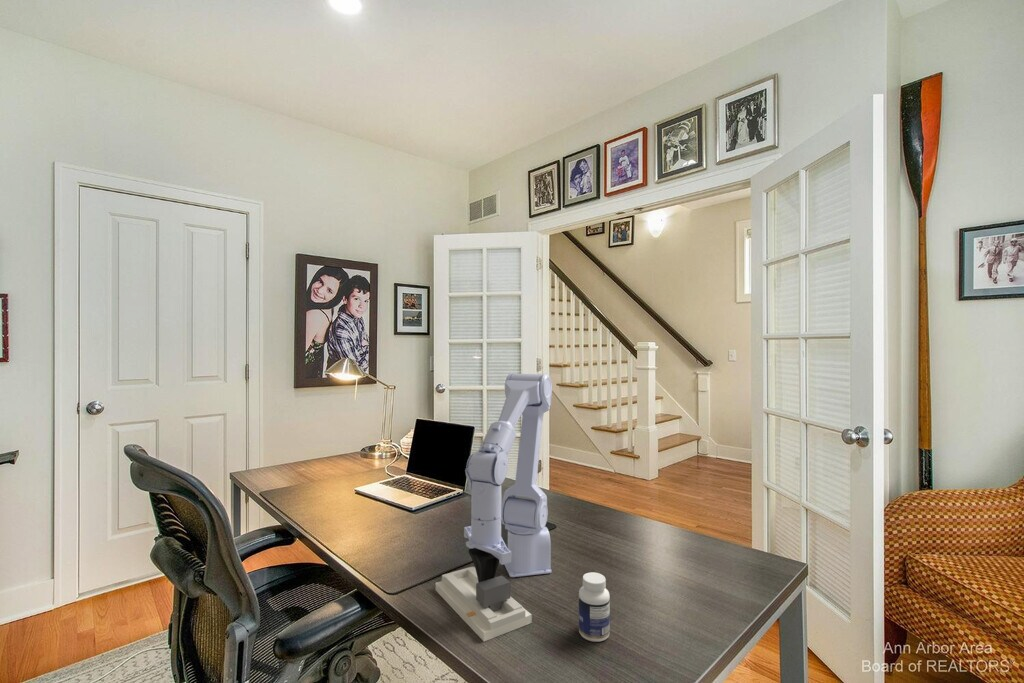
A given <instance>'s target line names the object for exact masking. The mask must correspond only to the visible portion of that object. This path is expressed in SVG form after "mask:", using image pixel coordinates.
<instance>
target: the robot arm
mask: <svg viewBox="0 0 1024 683" xmlns="http://www.w3.org/2000/svg"><path fill="white" fill-rule="evenodd" d="M504 394H505V401H504V404H503V405H502V409H501V412H500V415H499V418H498V420H497V421H494V422H492V423H491V424H490V426H489V428H488V430H487V432H486V433H485V436H484V438H483V440H482V442H481V443H480V446H479V448H478V450H476V451H475V452H473V453H472V454H470V455H469V457H468V459H467V462H466V466H465V467H466V468H465V470H464V472H465V477H466V479H467V482H468V491H469V492H471V496H470V497H471V498H470V499H471V502H470V503H471V508H470V509H471V515H470V516H471V517H470V518H471V522H470V524H471V525H469V526H465V527H463V537H464V538H465V539H468V540H466V541H465V546H466V547H467V548H468V554H469V556H470V558H471V560H472V562H473V567H475V569H476V573H477V578H478V582H482V581H486V580H489V579H492V578H495V577H496V574H497V570H498V566H499V565H504V567H505V569H506V571H507V573H508V576H509V578H516V577H518V578H519V577H528V576H535V575H543V574H551V573H552V569H551V568H552V567H551V565H552V564H551V558H552V557H551V555H552V553H551V552H552V550H551V549H552V547H551V545H552V543H551V536H550V531H549V529H548V527H547V526H546V524H547V522H548V514H549V512H548V509H549V508H548V497H547V494H546V493H545V492H544V491H543V489H541V487H539V486H538V483H537V480H538V472H539V471H538V470H539V463H540V462H539V460H540V453H541V452H540V451H541V450H540V449H541V439H542V429H543V420H544V414H545V413H546V412H548V411H550V408H551V405H552V394H553V384H552V379H551V377H550V376H549V375H548V374H547V373H542V374H541V373H516V372H510V373H508V375H507V376H506V379H505V381H504ZM521 416H522V417H521ZM520 418H521V423H520V424H521V426H520V435H519V443H518V451H517V453H518V454H517V461H516V472H515V473H516V474H515V481H514V482H515V483H513V484H512V485H511V486H509V487H508V488H506V489H505V490H504V491H503V492H504V493H503V498H502V484H503V482H504V481H505V479H506V477H507V472H508V464H509V461H510V459H509V454H510V452H511V449H512V447H513V445H514V442H515V440H516V437H517V433H516V430H515V427H516V425H517V423H518V421H519V419H520ZM502 525H504V529H505V530H507V544H506V543H505V541H504V539H503V537H502Z"/></svg>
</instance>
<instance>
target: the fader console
mask: <svg viewBox="0 0 1024 683" xmlns="http://www.w3.org/2000/svg"><path fill="white" fill-rule="evenodd" d="M476 583H479V582H478V578H477V573H476V569H475V566H474V565H473V566H470V567H465V568H462V569H459V570H455V571H451V572H449V573H444V574H441V580H440V581H438V582H437V581H436V582H435V591H436V592H437V594H438V595H440V597H441V598H442V599H443V600H444V601H445V602H446V603H447V604H448V605H449V606H450V608H452V609H453V611H455V613H456V614H458V615H459V617H460V618H461V619H462V620H463V621H464V622H465V623H466V624H467V626H469V627H470V629H471V630H473V632H474V633H475V634H476V635H477V636H478V637H479V638H480V640H482V642H487V641H490V640H492V639H495V638H496V637H497V638H498V637H499V636H502V635H504V634H507V633H511V631H515V630H517V629H519V628H522V627H525V626H527V625H529V624H532V623H533V621H532V620H533V618H532V617H533V616H532V615H533V614H532V613H530V612H529V611H528V610H527V609H525V608H524V607H523V605H522V604H520V603H519V601H517V600H515V599H514V598H513V597H512V596H511V595H510V599H507V600H504V601H502V608H501V609H498V610H495V611H492V610H491V609H490V608H489V607H483V606H482V605H481V604H480V603H479V602H478V601H477V600H476Z"/></svg>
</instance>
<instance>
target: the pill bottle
mask: <svg viewBox="0 0 1024 683" xmlns="http://www.w3.org/2000/svg"><path fill="white" fill-rule="evenodd" d="M606 581H607V579H606V577H605V575H603V574H601V573H599V572H595V571H594V572H592V571H591V572H587V573H584V574H583V576H582V586H581V587H580V588H579V589H578V590H579V591H578V632H579V634H580V636H581V637H582V638H583V639H585V640H587V641H590V642H595V643H596V642H598V643H599V642H602V641H605V640H607V639H608V638H609V637H610V630H611V627H610V626H611V625H610V624H611V623H610V622H611V621H610V617H611V616H610V614H611V613H610V612H611V609H610V605H611V604H610V603H611V600H610V596H611V595H610V592H609V590H608V589H607V588H606V586H607V583H606Z"/></svg>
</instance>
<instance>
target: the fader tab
mask: <svg viewBox="0 0 1024 683" xmlns="http://www.w3.org/2000/svg"><path fill="white" fill-rule="evenodd" d="M510 596H511V581H509V580H508V579H507V578H506V577H505V576H504V575H499V576H495V577H494V578H492V579H489V580H486V581H482V582H479V583H476V600H477V601H478V602H479V603H480V604H481V605H482V606H483V607H489V608H490V609H491V610H492V611H495V610H498V609H501V608H502V601H504V600H507V599H510Z"/></svg>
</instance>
